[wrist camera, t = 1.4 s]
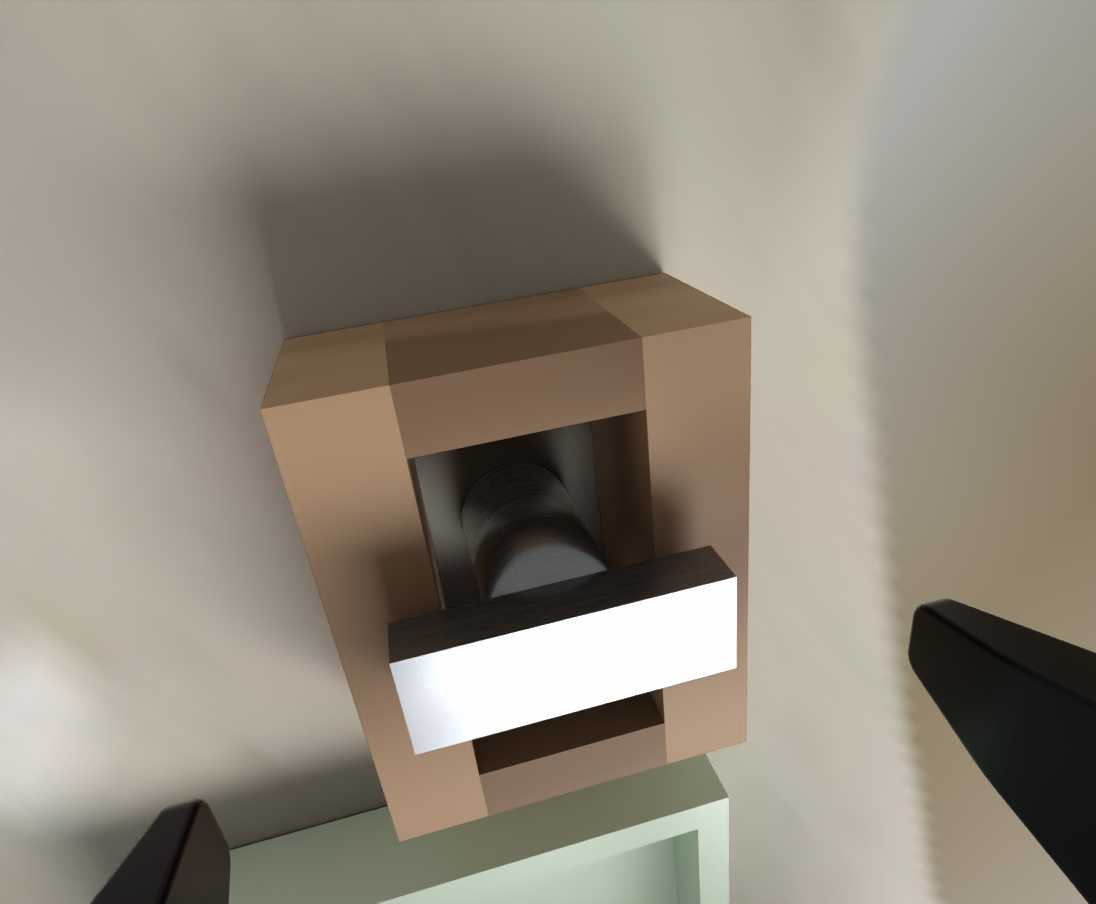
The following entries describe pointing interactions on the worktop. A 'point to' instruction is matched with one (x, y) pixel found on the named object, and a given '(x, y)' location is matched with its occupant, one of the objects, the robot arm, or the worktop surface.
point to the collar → (494, 414)
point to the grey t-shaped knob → (554, 620)
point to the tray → (515, 851)
